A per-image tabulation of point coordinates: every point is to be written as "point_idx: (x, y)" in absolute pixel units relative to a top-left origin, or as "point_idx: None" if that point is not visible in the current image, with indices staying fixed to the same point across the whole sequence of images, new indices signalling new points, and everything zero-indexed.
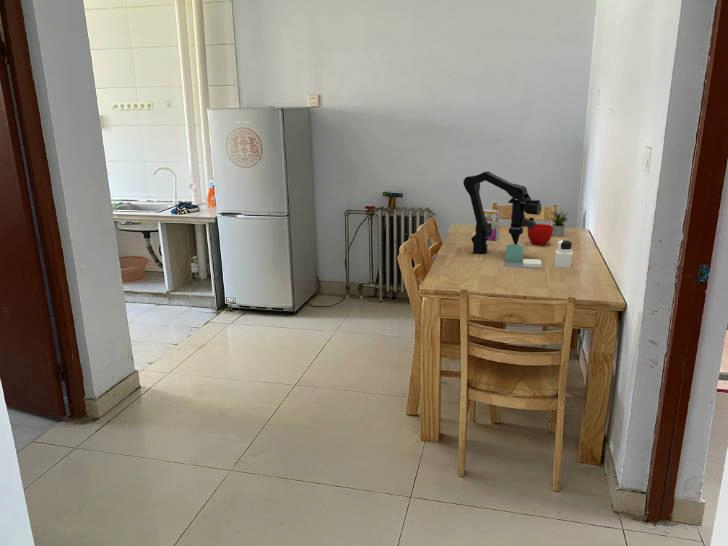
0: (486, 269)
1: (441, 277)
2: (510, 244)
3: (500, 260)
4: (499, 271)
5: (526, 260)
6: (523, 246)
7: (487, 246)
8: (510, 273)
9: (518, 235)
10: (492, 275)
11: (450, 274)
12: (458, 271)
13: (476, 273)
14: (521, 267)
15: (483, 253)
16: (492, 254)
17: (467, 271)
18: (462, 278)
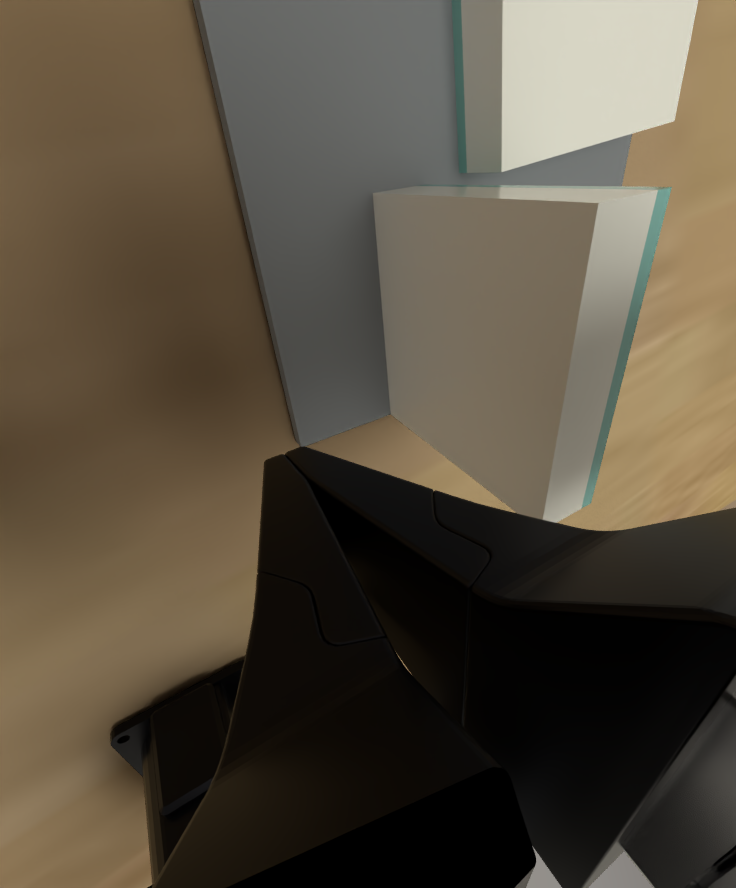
0: (617, 417)
1: (701, 501)
2: (580, 462)
3: (369, 461)
4: (659, 320)
5: (571, 94)
6: (652, 190)
7: (161, 778)
8: (708, 221)
9: (560, 554)
10: (719, 327)
11: (674, 502)
12: (641, 506)
13: (677, 422)
14: (623, 148)
15: (232, 686)
16: (160, 645)
17: (644, 476)
18: (727, 431)
